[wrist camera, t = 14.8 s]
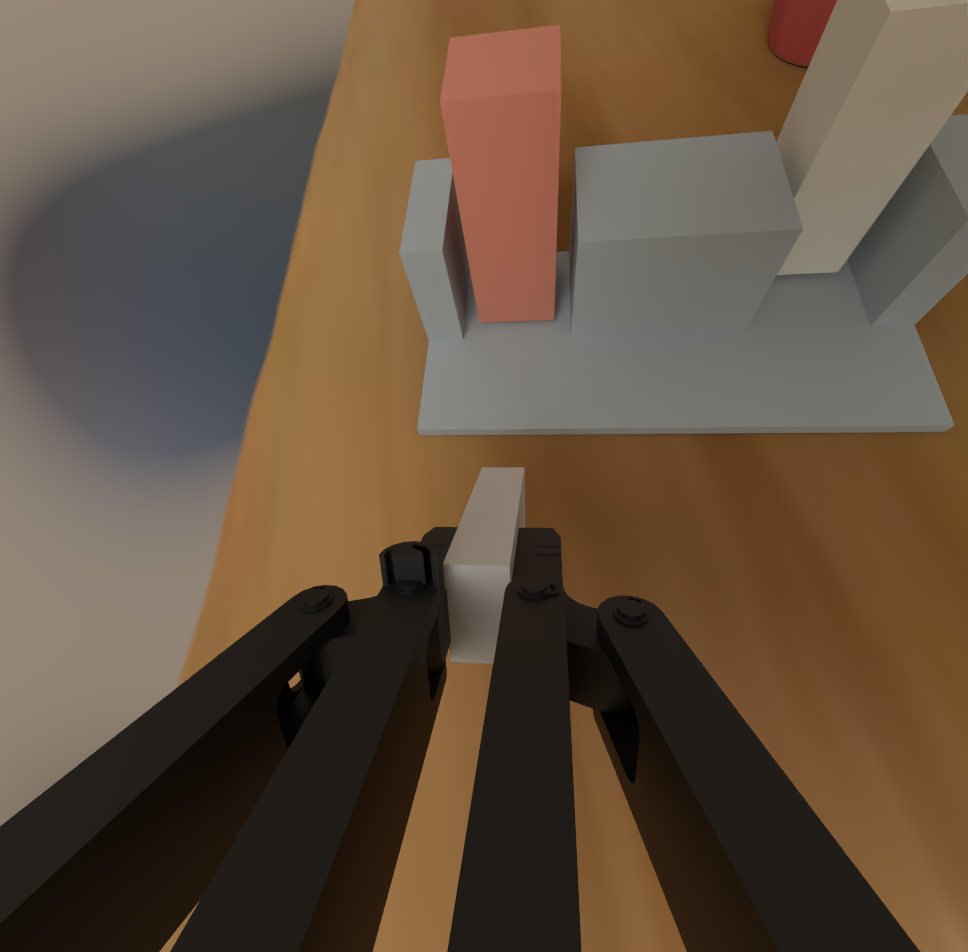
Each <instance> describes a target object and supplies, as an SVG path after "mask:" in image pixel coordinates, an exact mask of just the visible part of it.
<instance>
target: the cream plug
mask: <svg viewBox="0 0 968 952" xmlns="http://www.w3.org/2000/svg"><path fill="white" fill-rule="evenodd" d="M967 92H968V0H837V2H836V4H835V7H834V9H833V11H832V14H831V16H830V18H829V21H828V23H827V25H826V27H825V30H824V32H823V34H822V37H821V39H820V41H819V44H818V46H817V48H816V51H815V53H814V55H813V58H812V60H811V62H810V65H809V67H808V69H807V72H806V74H805V76H804V79H803V81H802V83H801V86H800V88H799V90H798V92H797V95H796V97H795V99H794V102H793V104H792V106H791V109H790V111H789V113H788V116H787V118H786V120H785V123H784V125H783V127H782V130H781V132H780V134H779V137H778V139H777V141H776V143H777V147H778V150H779V153H780V156H781V159H782V163H783V166H784V169H785V172H786V175H787V179H788V182H789V185H790V188H791V191H792V195H793V198H794V201H795V204H796V207H797V211H798V214H799V217H800V220H801V224H802V227H803V230H802V232H801V234H800V236H799V237H798V239H797V241H796V243H795V244H794V246H793V248H792V249H791V251H790V253H789V255H788V256H787V258H786V260H785V262H784V263H783V265H782V267H781V269H780V270H779V272H778V274H777V275H791V274H812V273H833V272H838V271H839V270H840V269H841V267H842V266H843V265H844V263H845V262H846V260H847V259H848V258H849V256H850V255H851V253H852V252H853V251H854V249H855V248H856V246H857V245H858V244H859V242H860V241H861V239H862V238H863V237H864V235H865V234H866V232H867V231H868V230H869V228H870V227H871V226H872V224H873V223H874V221H875V220H876V219H877V217H878V216H879V214H880V213H881V212H882V210H883V209H884V207H885V206H886V205H887V203H888V202H889V200H890V199H891V198H892V196H893V195H894V194H895V192H896V191H897V189H898V188H899V187H900V185H901V184H902V182H903V181H904V180H905V178H906V177H907V175H908V174H909V173H910V171H911V170H912V168H913V167H914V166H915V164H916V163H917V162H918V160H919V159H920V157H921V156H922V155H923V153H924V152H925V150H926V149H927V148H928V146H929V145H930V143H931V142H932V141H933V139H934V138H935V136H936V135H937V134H938V132H939V131H940V129H941V128H942V127H943V125H944V124H945V123H946V121H947V120H948V118H949V117H950V116H951V114H952V113H953V111H954V110H955V109H956V107H957V106H958V104H959V103H960V102H961V100H962V99H963V97H964V96H965V95H966V93H967Z"/></svg>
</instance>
